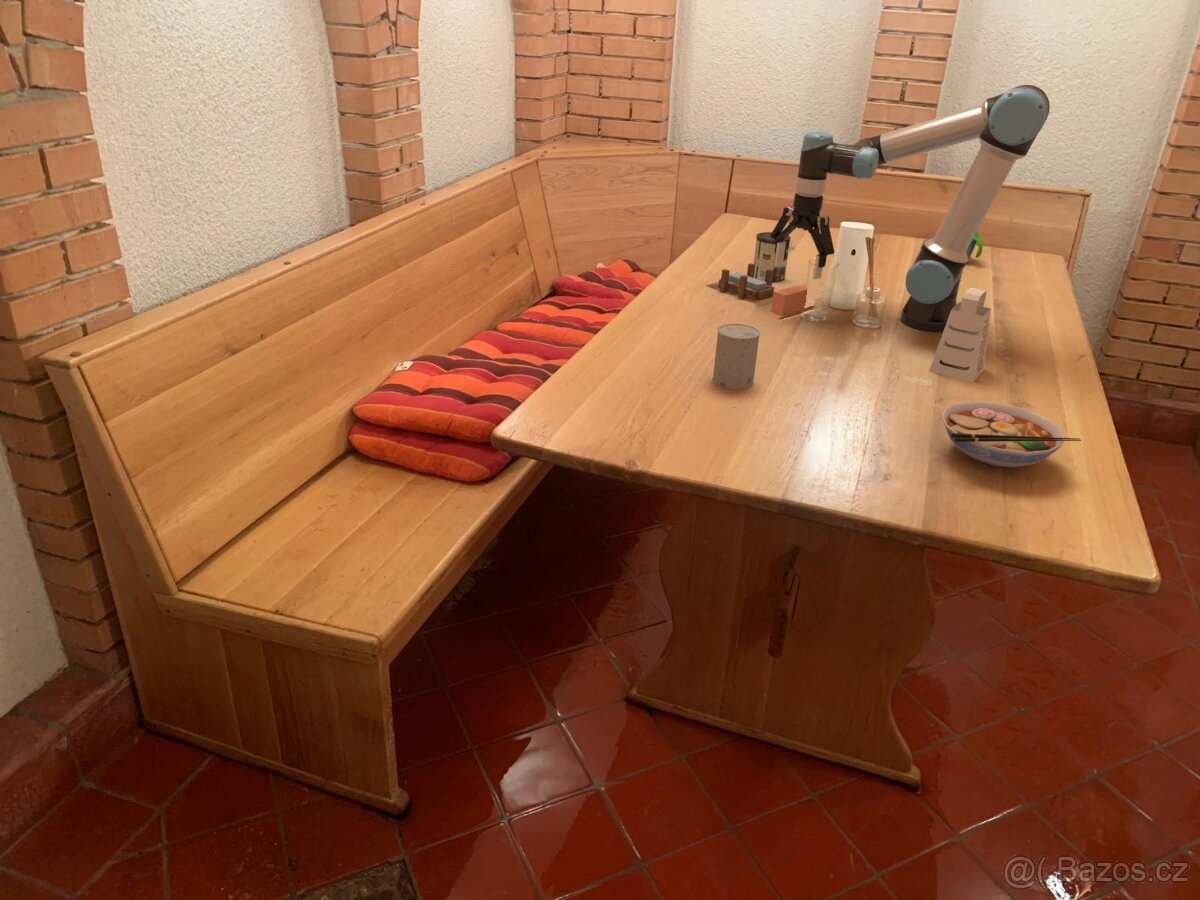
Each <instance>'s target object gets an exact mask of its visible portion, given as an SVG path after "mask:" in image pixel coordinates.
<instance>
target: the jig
mask: <svg viewBox="0 0 1200 900" xmlns="http://www.w3.org/2000/svg"><path fill="white" fill-rule="evenodd" d="M773 272H774V270H771V269H768V270H766V277H765V282H767V288H766V289H764V290H760V291H756V290H753V289H750V288H747V279H748V276H749V277H752V278H754V273H755V264H754V263H752V262H751V263H748V264H747V273H746V274H743V276H740V283H739V284H736V283H733V282H730V281H728V280H729V274H730V269H727V268H725V269H721V277H720V279H719V280H718V281H717V282H713V283H708V284H705V285H704V286H705V287H708V288H711V289H713V290H716V291H718V292H721V293H722V294H724V293H725V294H727V295H729V296H732V297H735V298H737V299H739V300H743V301H745V302H749V303H752V304H754V305H758V306H765V305H767V304H772V301H773V293H774V291H775V287H774V286H772V285H773V282H772V279H773ZM745 275H746V276H745Z"/></svg>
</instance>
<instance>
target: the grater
mask: <svg viewBox="0 0 1200 900" xmlns="http://www.w3.org/2000/svg"><path fill="white" fill-rule="evenodd" d="M986 297H987V290H986V289H985V290H984V289H980V288H976V287H972V286H971V287H969V288H968V289H967V290H965V292H964V293H963V295H962V299H961V301H959V302H958V303H957V305H956V306H955V307H954V308H952V309H951V312H950V315H949V317H948V320H947V323H946V326H945V328H944V331H943V332H942V334H941V337H940V339H939V343H938V346H937V348H936V350H935V353H934V357H933V360H932V362H931V365H930V367H929V369H928V372H930V373H934V374H937V375H942V376H945V377H950V378H954V379H959V380H961V381H966V382H970V383H974V382H975V381H976V379H978V377H979V376H980V375H981V374H982V373H983V371H984V369H985V364H986V355H987V348H988V347H987V346H988V340H989V339H988V337H989V329H990V322H991V321H990V320H991V312H992V308H991V307H987V306H984V305H985V301H986ZM941 361H942V362H943V363H944V364H949V365H953V366H956V367H961V368H964V369H965V368H968V369H965V370H964V369H959V368H955V367H950V366H947V365H943V364H942V363H940V362H941Z"/></svg>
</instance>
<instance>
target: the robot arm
mask: <svg viewBox="0 0 1200 900" xmlns="http://www.w3.org/2000/svg"><path fill="white" fill-rule="evenodd" d="M1050 107H1051V106H1050V100H1049V97H1048V95H1047V94H1046V92H1045V91H1044V90H1043V89H1041V88H1040V87H1038V86H1035V85H1033V84H1022V85H1018V86H1014V87H1013V88H1011V89H1010V90H1007V91H1005V92H1003V93H1000V94H998V95H996V96H992V97H988V98H985V100H984V102H983V103H982V104H980V105H977V106H973V107H969V108H966V109H964V110H959V111H957V112H952V113H949V114H947V115H942V116H940V117H936V118H933V119H929V120H926V121H922V122H919V123H915V124H912V125H909V126H905V127H902V128H899V129H896V130H895V129H894V130H892V131H889V132H885V133H882V134H879V135H875V136H871V137H864V138H861V139H860V140H857V141H856V142H855V143H853V144H842V143H837V142H834V136H833V135H832V133H827V132H824V131H822V132H821V131H808V132H807V133H805V134H804V136H803V140H802V141H803V142H802V145H801V150H800V155H799V156H800V158H799V164H798V172H797V178H796V183H795V190H794V191H795V194H794V198H793V204H792V205H793V206H786V207H784V208H783V210H782V215H781V216H780V218H779V220H778V222H777V223H776V225H775V226H774V229H773V230H772V231H771V232H772V233H771V235H770V237H771V238H773V239H775V241H776V244H775V253H776V257H775V264H774V266H780V265H783V259H784V252H785V245H786V242H782V241H785V240H784V239H785V238H786V237H787V236H790V235H791V234H792V232H794V231H795V230H796V228H797V229H802V230H803V231H807V232H808V233H809V234H810V237H811V239H812V240H813V242H814V246H815V247H816V250H817V252H818V254H816V255H815V262H814V268H813V273H812V279H813V280H818V279H822V273H823V268H825V267H826V264H827V257H828V256H829V255H830V256H831V255H834V254H835V248H834V244H833V243H834V242H833V238H832V233H831V228H830V217H829V216H821V215H820V212H821V210H822V208H823V203H824V197H823V195H824V194H825V190H826V189H825V188H826V183H827V177H828V174H831V175H837V176H839V175H840V176H845V177H846V176H847V177H852V178H856V179H871V178H873V177H874V175H875V174H876V172H877V168H878V166H881V165H884V164H888V163H891V162H892V163H893V162H895V161H899V160H903V159H907V158H910V157H914V156H917V155H921V154H925V153H929V152H931V151H934V150H940V149H943V148H946V147H949V146H950V147H952V146H955V145H958V144H961V143H965V142H969V141H972V140H975V139H978V140H979V143H980V148H979V150H978V152H977V154H976V155H975V158H974V160H973V162H972V163H971V164H970V168H969V169H968V171H967V173H966V175H965V177H964V178H963V181H962V183H961V184H960V187H959V189H958V190H957V192H956V194H955V196H954V199H953V200H952V202H951V204H950V206H949V208H948V209H947V211H946V213H945V215H944V217H943V219H942V221H941V223H940V225H939V227H938V229H937V231H936V232H935V235H934V236H933V237H931V238H925V239H924V240H923V241H922V244H921V246H920V250H919V252H918V254H917V256H916V258H915V260H914V262H913V264H912V265H910V266H911V267H909V268H908V270H907V272H906V274H905V275H906V276H905V281H904V282H905V283H904V284H905V288H906V290H907V293H908V294H909V295H910V296H909V298H908V299H907V301H906V303H905V305H904V306H903V308H902V310H901V313H900V319H899V320H900V321H901V322H902V323H903V324H904V325H907V326H908V327H911V328H915V329H918V330H921V331H928V332H940V333H941V332H942V333H943V331H944V328H945V326H946V323H947V320H948V317H949V315H950V312H951V309H952V308H954V307H955V306H956V305H957V304H958V303H957V296H958V292H959V289H960V283H961V279H962V276H963V270H964V268H965V266H966V265H967V264H968V263H967V261H968V257H967V248H968V247H969V245H970V243H971V241H972V239H973V237H974V236H975V234H976V232H977V231H978V230H979V229H980V226H981V224H982V223H983V220H984V219H985V217H986V215H987V214H988V212H989V210H990V208H991V206H992V204H994V203H993V202H994V200H995V199H996V197H997V196H998V194H999V192H1000V190H1001V188H1002V186H1003V184H1004V183H1005V180H1006V179H1007V177H1008V175H1009V174H1010V171H1011V170H1012V168H1013V167H1014V164H1015V162H1016V161H1018V160H1020V159H1023V158H1025V157H1026V156H1027V154H1028V153H1029V151H1030V148H1031V147H1032V145H1033V144H1034V142H1035V140H1036V138H1037V136H1038V134H1039V133H1040V132H1041V131H1042V129H1043V127H1044V126H1045V123H1046V121H1047V119H1048V117H1049V116H1050V115H1049V114H1050ZM791 216H792V218H793V219H792V220H791V221H790V222H789V220H790V219H791ZM788 222H789V223H788ZM787 224H788V225H787ZM786 225H787V226H786ZM977 233H978V232H977Z"/></svg>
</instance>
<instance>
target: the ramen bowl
mask: <svg viewBox="0 0 1200 900" xmlns="http://www.w3.org/2000/svg"><path fill="white" fill-rule="evenodd" d="M941 418H942V421H943V424H944V426H945V430H946V432H947V435H948V437H949V439H950V440H951V442H952V443H953V444H954V445H955V446H956V448H958V449H959V450H961V451H962V452H963V453H964V454H966V455H967V456H969V457H971V458H972V459H975V460H977V461H980V462H982V463H983V464H987V465H988V466H989V465H990V466H993V467H1005V468H1018V467H1026V466H1027V467H1028V466H1031V465H1034V464H1036V463H1038V462H1040V461H1043V460H1045V459H1046V458H1048V457H1050V456H1052V455H1053V454H1054V453H1056V452H1057V451H1058V450H1059V449H1060V448H1061V447H1062V446H1063V443H1064V442H1079V441H1082V439H1079V438H1073V437H1066V435H1065V433H1064V432H1063V430H1062V429H1061V427H1060V426H1059V425H1057V424H1056V423H1054V422H1053V421H1052V420H1050V419H1049V418H1047V417H1046V416H1043V415H1041V414H1038V413H1035V412H1034V411H1031V410H1029V409H1026V408H1023V407H1018V406H1015V405H1010V404H1006V403H1002V402H995V401H994V402H993V401H981V400H973V401H961V402H957V403H955V404H952V405H949V406H946V407H945V409H944V411H942V413H941Z"/></svg>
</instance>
